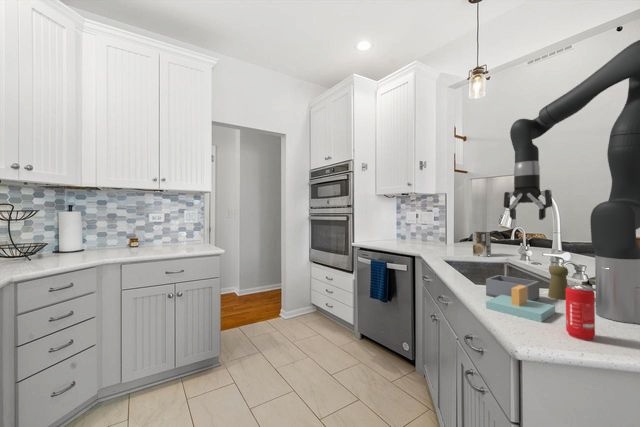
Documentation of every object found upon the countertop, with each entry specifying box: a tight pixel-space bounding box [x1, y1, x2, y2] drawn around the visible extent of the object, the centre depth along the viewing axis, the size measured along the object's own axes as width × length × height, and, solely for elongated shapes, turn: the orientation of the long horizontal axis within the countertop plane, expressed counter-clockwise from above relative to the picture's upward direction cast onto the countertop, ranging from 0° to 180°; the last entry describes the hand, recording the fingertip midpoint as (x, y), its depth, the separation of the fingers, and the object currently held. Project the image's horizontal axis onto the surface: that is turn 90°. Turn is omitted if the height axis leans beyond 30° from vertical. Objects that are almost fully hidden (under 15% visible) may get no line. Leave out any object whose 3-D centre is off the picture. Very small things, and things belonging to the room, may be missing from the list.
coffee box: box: [472, 231, 492, 257], centre depth 190 cm, size 9×6×16 cm
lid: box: [485, 285, 556, 323], centre depth 87 cm, size 14×11×7 cm
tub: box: [485, 274, 540, 302], centre depth 100 cm, size 13×10×6 cm
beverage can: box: [565, 284, 596, 341], centre depth 69 cm, size 5×5×12 cm
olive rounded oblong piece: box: [547, 265, 569, 301], centre depth 99 cm, size 6×6×11 cm
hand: (526, 219), depth 102 cm, fingers open, 8 cm apart
